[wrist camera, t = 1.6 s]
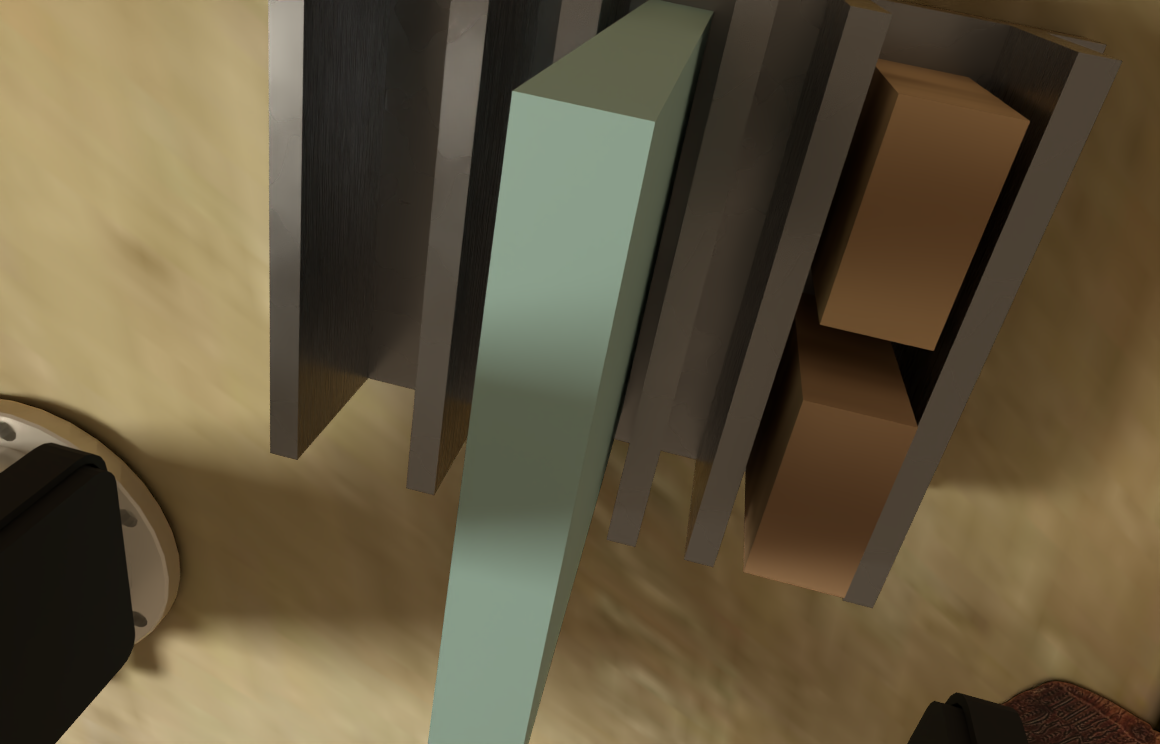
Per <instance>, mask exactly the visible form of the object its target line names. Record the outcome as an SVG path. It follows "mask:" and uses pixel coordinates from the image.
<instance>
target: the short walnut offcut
mask: <svg viewBox="0 0 1160 744" xmlns="http://www.w3.org/2000/svg"><path fill="white" fill-rule="evenodd" d="M1029 123H1030V121H1029V120H1028V119H1026V118H1025V117H1024V116H1022V115H1021V114H1019V113H1018V112H1017V111H1015V110H1014V109H1012V108H1011V107H1009V106H1008V105H1007V104H1005V103H1004V102H1002V101H1001V100H1000V99H998V98H997V97H995V96H994V95H993V94H991V93H990V92H988V91H987V90H986V89H984V88H983V87H981V86H980V85H979V84H977V83H976V82H974V81H973V80H972V79H970V78H969V77H965V76H960V75H955V74H951V73H946V72H941V71H936V70H931V69H926V68H922V67H917V66H912V65H907V64H902V63H897V62H893V61H888V60H883V59H878V61H877V64H876V67H875V70H874V73H873V76H872V79H871V82H870V85H869V88H868V91H867V95H866V98H865V101H864V104H863V107H862V110H861V113H860V116H859V119H858V122H857V125H856V128H855V132H854V135H853V138H852V141H851V144H850V147H849V150H848V153H847V156H846V159H845V162H844V165H843V169H842V172H841V175H840V178H839V181H838V184H837V187H836V190H835V193H834V196H833V199H832V202H831V206H830V209H829V212H828V215H827V218H826V221H825V224H824V227H823V230H822V233H821V236H820V239H819V243H818V246H817V249H816V252H815V255H814V258H813V261H812V264H811V271H812V277H813V284H814V290H815V297H816V303H817V310H818V316H819V322H820V325H824V326H828V327H833V328H837V329H841V330H845V331H850V332H854V333H858V334H863V335H867V336H871V337H876V338H880V339H884V340H888V341H893V342H897V343H901V344H906V345H910V346H914V347H919V348H923V349H927V350H931V351H934V349H935V346H936V344H937V342H938V339H939V337H940V335H941V332H942V330H943V327H944V325H945V323H946V320H947V318H948V316H949V313H950V311H951V308H952V306H953V304H954V301H955V299H956V296H957V294H958V292H959V289H960V287H961V285H962V282H963V280H964V277H965V275H966V273H967V270H968V268H969V266H970V263H971V261H972V258H973V256H974V254H975V251H976V249H977V247H978V244H979V242H980V239H981V237H982V235H983V232H984V230H985V227H986V225H987V223H988V220H989V218H990V216H991V213H992V211H993V208H994V206H995V204H996V201H997V199H998V197H999V194H1000V192H1001V189H1002V187H1003V185H1004V182H1005V180H1006V178H1007V175H1008V173H1009V170H1010V168H1011V166H1012V163H1013V161H1014V159H1015V156H1016V154H1017V151H1018V149H1019V147H1020V144H1021V142H1022V139H1023V137H1024V135H1025V132H1026V130H1027V128H1028V125H1029Z"/></svg>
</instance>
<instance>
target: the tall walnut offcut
mask: <svg viewBox="0 0 1160 744" xmlns="http://www.w3.org/2000/svg"><path fill="white" fill-rule="evenodd" d="M917 429H918V426H917V423H916V420H915V417H914V414H913V410H912V407H911V404H910V401H909V398H908V395H907V392H906V389H905V385H904V382H903V379H902V376H901V373H900V370H899V367H898V363H897V360H896V357H895V354H894V351H893V348H892V345H891V342H890V341H888V340H884V339H880V338H876V337H871V336H867V335H863V334H858V333H854V332H850V331H845V330H841V329H837V328H833V327H828V326H824V325H820V322H819V316H818V310H817V303H816V297H815V295H812V294H807V293H803V292H802V295H801V298H800V301H799V304H798V307H797V310H796V313H795V317H794V320H793V323H792V326H791V329H790V332H789V335H788V338H787V341H786V344H785V347H784V350H783V354H782V357H781V360H780V363H779V366H778V369H777V372H776V375H775V378H774V381H773V384H772V388H771V391H770V394H769V397H768V400H767V403H766V406H765V409H764V412H763V415H762V418H761V421H760V425H759V428H758V431H757V434H756V437H755V440H754V443H753V446H752V449H751V452H750V455H749V458H748V462H747V465H746V478H745V522H744V565H743V572H745V573H749V574H752V575H756V576H760V577H764V578H768V579H772V580H776V581H780V582H784V583H787V584H791V585H795V586H799V587H803V588H807V589H811V590H815V591H818V592H822V593H826V594H830V595H834V596H838V597H842V598H845V596H846V593H847V591H848V589H849V586H850V584H851V582H852V579H853V577H854V575H855V573H856V570H857V568H858V566H859V563H860V561H861V559H862V556H863V554H864V552H865V549H866V547H867V545H868V542H869V540H870V538H871V535H872V533H873V531H874V529H875V526H876V524H877V522H878V519H879V517H880V515H881V512H882V510H883V508H884V505H885V503H886V501H887V498H888V496H889V494H890V491H891V489H892V487H893V484H894V482H895V480H896V478H897V475H898V473H899V471H900V468H901V466H902V464H903V461H904V459H905V457H906V454H907V452H908V450H909V447H910V445H911V443H912V440H913V438H914V436H915V434H916V431H917Z"/></svg>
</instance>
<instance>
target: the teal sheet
mask: <svg viewBox="0 0 1160 744" xmlns="http://www.w3.org/2000/svg"><path fill="white" fill-rule="evenodd" d="M713 12H714V11H710V10H705V9H700V8H695V7H691V6H686V5H681V4H676V3H671V2H666V1H661V0H648V1H647V2H645V3H644V4H642V5H641V6H639V7H638V8H636V9H635V10H633V11H632V12H630V13H629V14H627V15H626V16H624V17H623V18H621V19H620V20H618V21H617V22H615V23H614V24H612V25H611V26H609V27H608V28H606V29H605V30H603V31H602V32H600V33H599V34H597V35H596V36H594V37H593V38H591V39H590V40H588V41H587V42H585V43H584V44H582V45H581V46H579V47H578V48H576V49H575V50H573V51H572V52H570V53H568V54H567V55H565V56H564V57H562V58H561V59H559V60H558V61H556V62H555V63H553V64H552V65H550V66H549V67H547V68H546V69H544V70H543V71H541V72H540V73H538V74H537V75H535V76H534V77H532V78H531V79H529V80H528V81H526V82H525V83H523V84H522V85H520V86H519V87H517V88H516V89H514V90H513V91H512V97H511V105H510V113H509V121H508V128H507V136H506V144H505V151H504V159H503V167H502V175H501V182H500V190H499V198H498V206H497V213H496V221H495V229H494V236H493V244H492V252H491V260H490V267H489V275H488V283H487V290H486V298H485V306H484V314H483V321H482V329H481V337H480V345H479V352H478V360H477V368H476V375H475V383H474V391H473V399H472V406H471V414H470V422H469V430H468V437H467V445H466V453H465V460H464V468H463V476H462V484H461V491H460V499H459V507H458V515H457V522H456V530H455V538H454V545H453V553H452V561H451V569H450V576H449V584H448V592H447V599H446V607H445V615H444V623H443V630H442V638H441V646H440V654H439V661H438V669H437V677H436V684H435V692H434V700H433V708H432V715H431V723H430V731H429V739H428V744H528V743H529V740H530V736H531V732H532V729H533V725H534V722H535V718H536V715H537V711H538V708H539V704H540V701H541V697H542V693H543V690H544V686H545V683H546V679H547V676H548V672H549V669H550V665H551V661H552V658H553V654H554V651H555V647H556V644H557V640H558V637H559V633H560V629H561V626H562V622H563V619H564V615H565V612H566V608H567V605H568V601H569V598H570V594H571V590H572V587H573V583H574V580H575V576H576V573H577V569H578V566H579V562H580V558H581V555H582V551H583V548H584V544H585V541H586V537H587V534H588V530H589V526H590V523H591V519H592V516H593V512H594V509H595V505H596V502H597V498H598V495H599V491H600V487H601V484H602V480H603V477H604V473H605V470H606V466H607V463H608V459H609V455H610V452H611V448H612V445H613V441H614V438H615V434H616V431H617V427H618V423H619V420H620V416H621V413H622V408H623V404H624V400H625V395H626V391H627V387H628V382H629V378H630V374H631V369H632V365H633V361H634V356H635V352H636V347H637V343H638V339H639V334H640V330H641V326H642V321H643V317H644V313H645V308H646V304H647V300H648V295H649V291H650V287H651V282H652V278H653V274H654V269H655V265H656V260H657V256H658V252H659V247H660V243H661V239H662V234H663V230H664V226H665V221H666V217H667V213H668V208H669V204H670V200H671V195H672V191H673V186H674V182H675V178H676V173H677V169H678V165H679V160H680V156H681V152H682V147H683V143H684V139H685V134H686V130H687V126H688V121H689V117H690V113H691V108H692V104H693V99H694V95H695V91H696V86H697V82H698V78H699V73H700V69H701V65H702V60H703V56H704V52H705V47H706V43H707V39H708V34H709V30H710V26H711V21H712V17H713Z"/></svg>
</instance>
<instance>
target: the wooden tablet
mask: <svg viewBox="0 0 1160 744" xmlns="http://www.w3.org/2000/svg"><path fill="white" fill-rule="evenodd" d="M1001 705H1004V706H1008V707H1012V708H1014V709H1015V710H1016V711H1017V712H1018V714H1019V716H1020V718H1021V721H1022V723H1023V726H1024V730H1025V733H1026V736H1027V740H1028V743H1029V744H1160V732H1157V731H1155V730H1152V727H1151V725H1150V724H1148V723H1146V722H1145V721H1143V720H1141V719H1139V718H1137V717H1136V716H1134V715H1132V714H1131V713H1129V712H1128V711H1126V710H1124V709H1123V708H1121V707H1119V706H1117V705H1116V704H1114V703H1112V702H1111V701H1109V700H1107V699H1106V698H1103V697H1101V696H1099V695H1097V694H1095V693H1093V692H1090V691H1088V690H1086V689H1083V688H1080V687H1078V686H1076V685H1073V684H1071V683H1066V682H1060V681H1051V682H1047V683H1044V684H1042V685H1040V686H1038V687H1036V688H1035V689H1032V690H1028V691H1025V692H1023V693H1020V694H1018V695H1016V696H1015V697H1013V698H1012V699H1011V700H1009V701H1008V702H1006V703H1004V704H1001Z"/></svg>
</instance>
